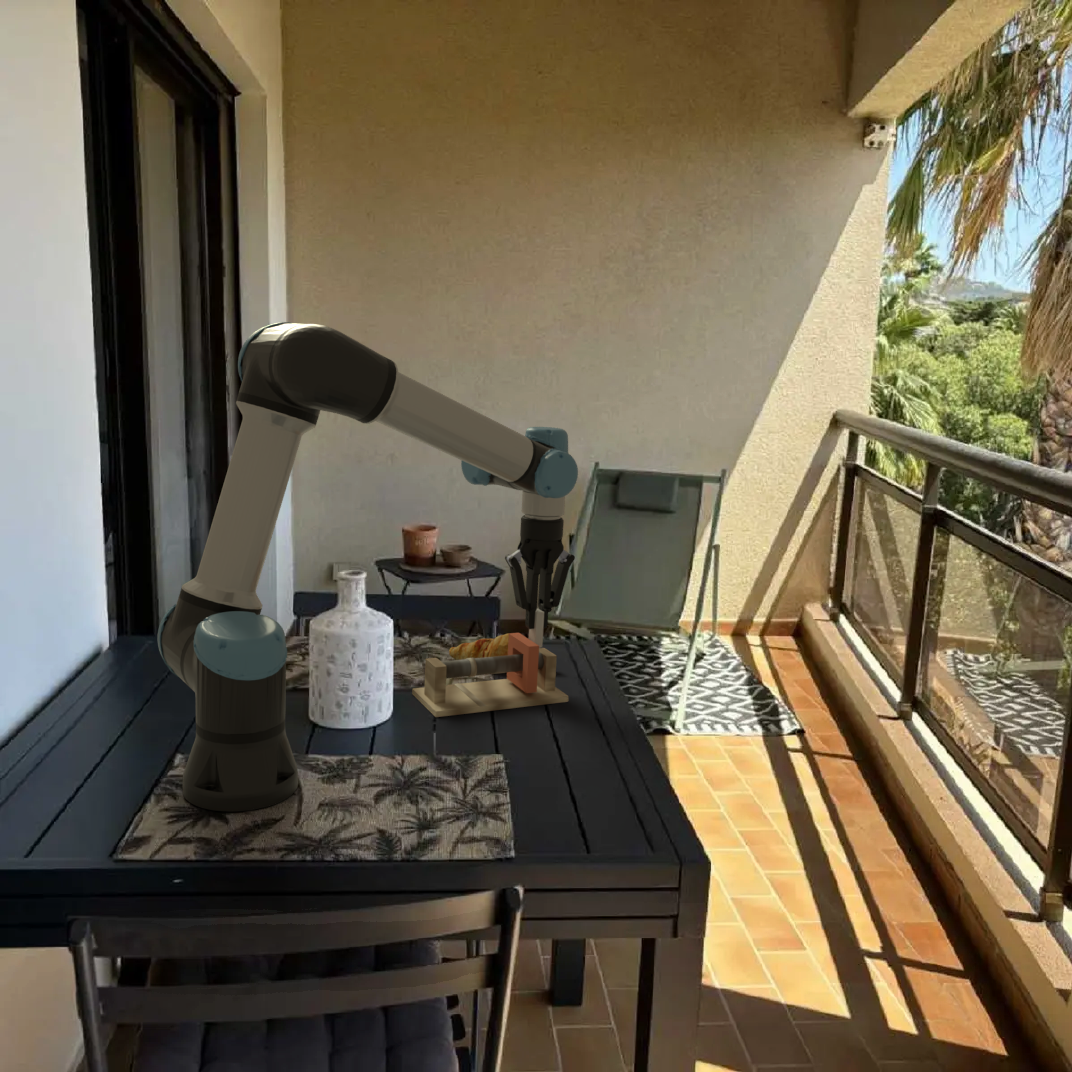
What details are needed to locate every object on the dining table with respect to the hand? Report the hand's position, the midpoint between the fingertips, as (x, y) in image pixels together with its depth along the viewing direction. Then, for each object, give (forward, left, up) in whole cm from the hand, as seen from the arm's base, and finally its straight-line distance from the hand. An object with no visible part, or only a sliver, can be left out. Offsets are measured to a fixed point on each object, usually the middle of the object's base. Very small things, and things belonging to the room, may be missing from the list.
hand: (535, 645), depth 181 cm
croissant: (+17, -1, -9) cm, 19 cm away
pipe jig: (0, +8, -9) cm, 12 cm away
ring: (0, +2, -7) cm, 8 cm away
